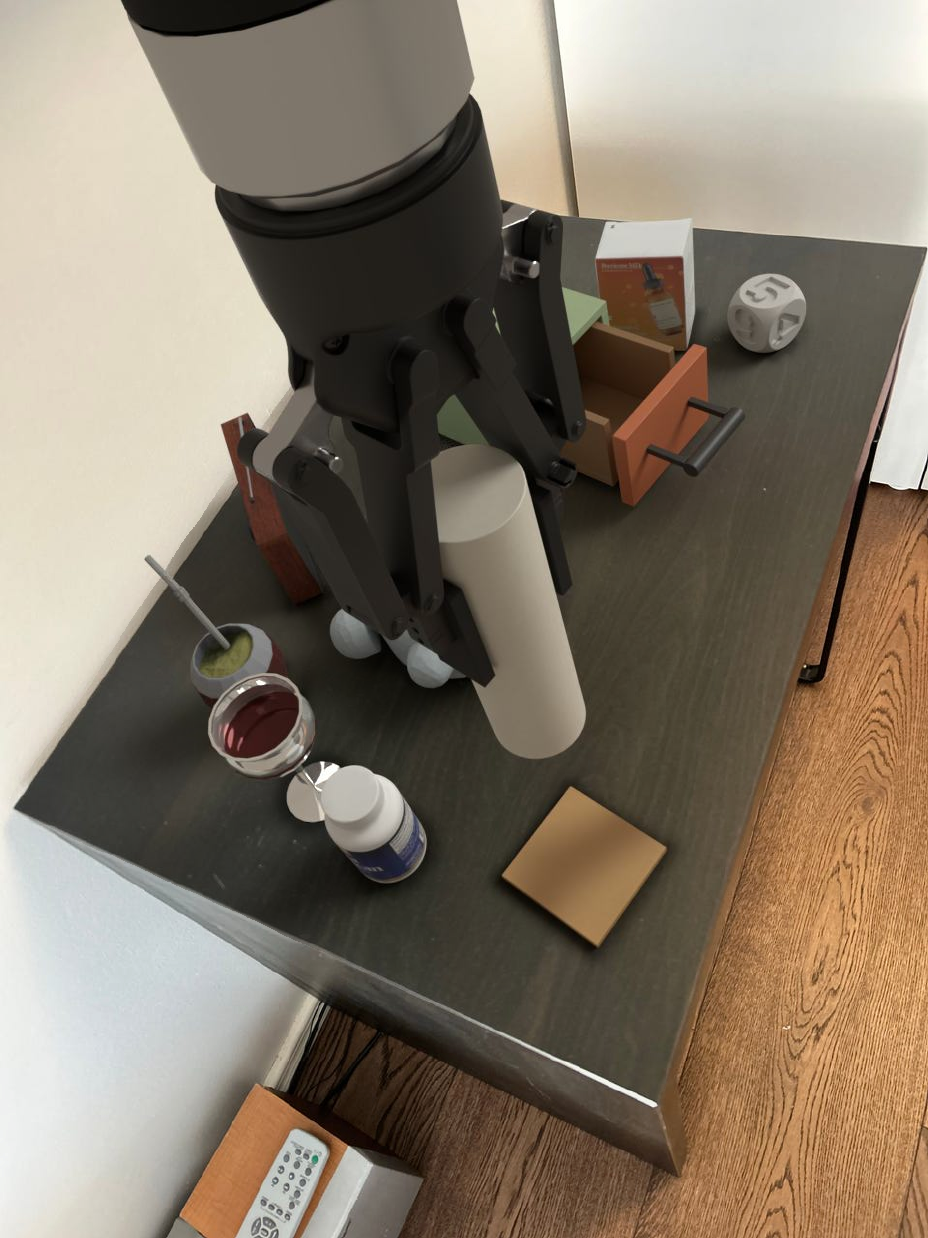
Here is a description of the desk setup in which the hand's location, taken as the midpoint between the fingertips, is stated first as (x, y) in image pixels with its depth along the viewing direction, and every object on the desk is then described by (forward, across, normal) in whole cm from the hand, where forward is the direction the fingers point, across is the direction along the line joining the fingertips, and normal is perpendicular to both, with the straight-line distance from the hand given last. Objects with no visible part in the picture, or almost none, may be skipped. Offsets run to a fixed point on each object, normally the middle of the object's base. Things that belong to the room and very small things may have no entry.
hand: (506, 621), depth 44 cm
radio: (+28, -8, -39) cm, 49 cm away
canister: (+9, 0, 0) cm, 9 cm away
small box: (+28, -46, -26) cm, 60 cm away
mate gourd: (+28, +5, -29) cm, 41 cm away
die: (+28, -50, -16) cm, 60 cm away
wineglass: (+28, +8, -19) cm, 35 cm away
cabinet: (+28, -32, -32) cm, 53 cm away
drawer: (+27, -32, -18) cm, 46 cm away
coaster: (+28, +1, +1) cm, 28 cm away
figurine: (+28, -10, -21) cm, 37 cm away
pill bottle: (+28, +8, -11) cm, 31 cm away
